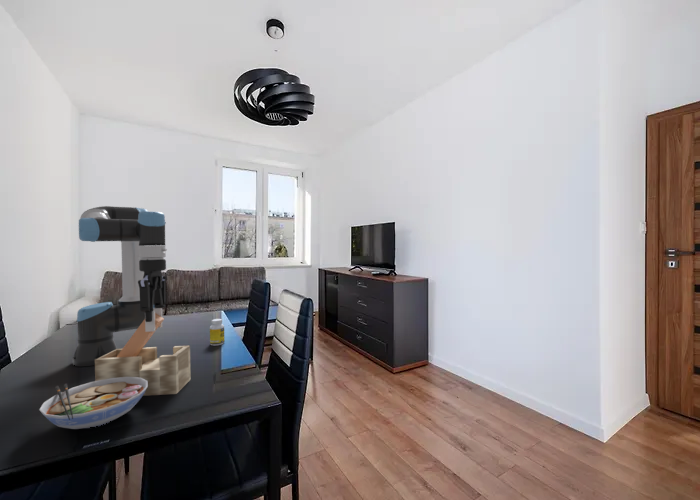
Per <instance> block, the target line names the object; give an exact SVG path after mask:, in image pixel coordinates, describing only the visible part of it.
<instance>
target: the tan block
mask: <svg viewBox="0 0 700 500" xmlns="http://www.w3.org/2000/svg"><path fill="white" fill-rule="evenodd" d="M164 320H165V318H164V317H163V316H162V317H161V316H159V315H158V314H156V313H155V331H151V332H145V319H144V321H143V322H142V323H141V325H140V326H139V327H138V329H135V330H134V333H133V334H132V335H131V336H130V338H129V339H128V340H127V342H126V343H125V345H124V346H122V348H123V349H122V350H121V351H120V353H119V354H118V355H117V357H135V356H137V355H138V354H139V352H140V351H141V350H142V348H143V347H146V344H147V343H148V342H149V340H150V339H151V337H153V335H154V334H155V332H156V331H157V330H158V327H159V326H160V324H161V323H162V322H164Z"/></svg>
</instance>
